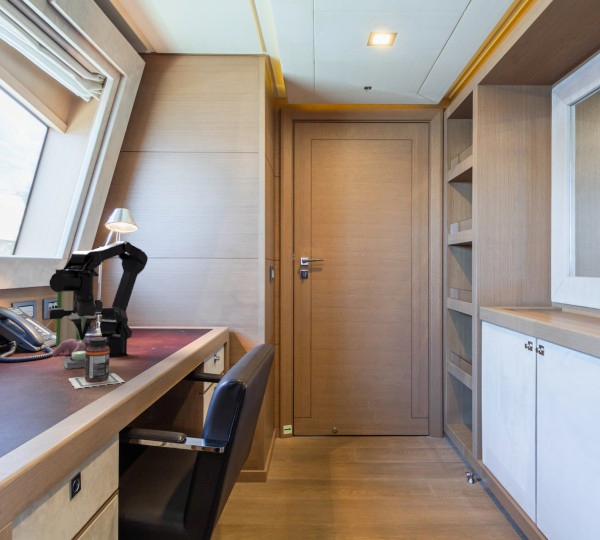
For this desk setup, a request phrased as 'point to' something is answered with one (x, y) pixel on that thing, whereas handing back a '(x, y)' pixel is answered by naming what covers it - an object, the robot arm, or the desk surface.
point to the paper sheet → (82, 383)
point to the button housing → (72, 363)
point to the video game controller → (69, 347)
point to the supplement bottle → (97, 360)
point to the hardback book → (66, 319)
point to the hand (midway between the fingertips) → (81, 339)
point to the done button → (78, 356)
